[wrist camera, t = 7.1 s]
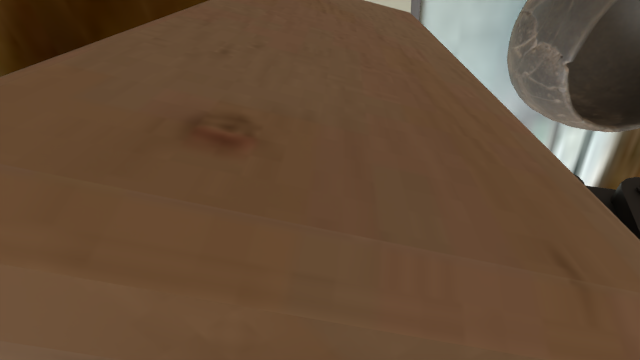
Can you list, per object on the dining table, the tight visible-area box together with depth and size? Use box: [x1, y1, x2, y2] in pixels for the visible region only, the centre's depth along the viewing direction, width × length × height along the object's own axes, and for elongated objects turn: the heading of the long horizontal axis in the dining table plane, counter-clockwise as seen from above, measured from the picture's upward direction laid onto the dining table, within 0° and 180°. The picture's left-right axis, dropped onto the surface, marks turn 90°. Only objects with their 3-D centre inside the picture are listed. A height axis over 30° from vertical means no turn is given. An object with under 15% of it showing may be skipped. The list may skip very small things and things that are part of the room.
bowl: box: [507, 0, 640, 132], centre depth 27 cm, size 18×18×13 cm
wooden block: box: [0, 0, 640, 360], centre depth 13 cm, size 10×10×20 cm
